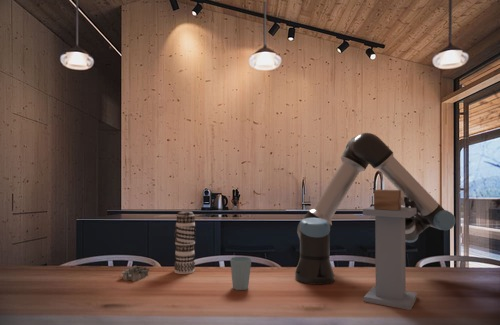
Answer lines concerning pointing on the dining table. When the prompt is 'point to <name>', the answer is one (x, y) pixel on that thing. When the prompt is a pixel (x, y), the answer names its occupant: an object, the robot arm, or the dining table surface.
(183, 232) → the decorative candle
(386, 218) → the stand
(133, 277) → the brown lumpy stone
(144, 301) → the dining table surface
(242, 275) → the cup
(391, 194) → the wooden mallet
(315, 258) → the robot arm
